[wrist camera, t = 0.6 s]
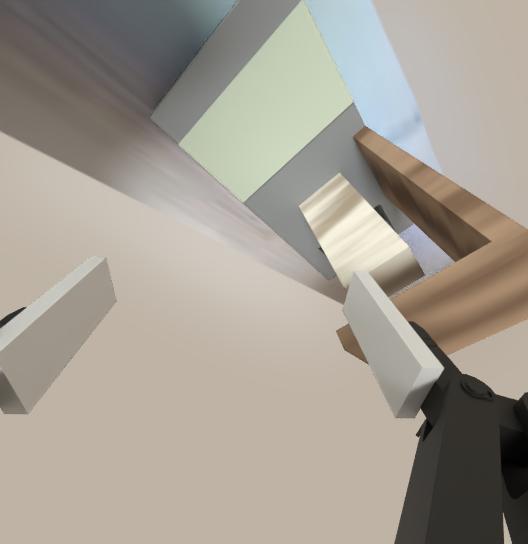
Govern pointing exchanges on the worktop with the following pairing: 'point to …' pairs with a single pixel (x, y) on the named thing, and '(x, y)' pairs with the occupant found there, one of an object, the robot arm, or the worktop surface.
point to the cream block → (358, 237)
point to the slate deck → (272, 119)
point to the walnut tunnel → (451, 253)
